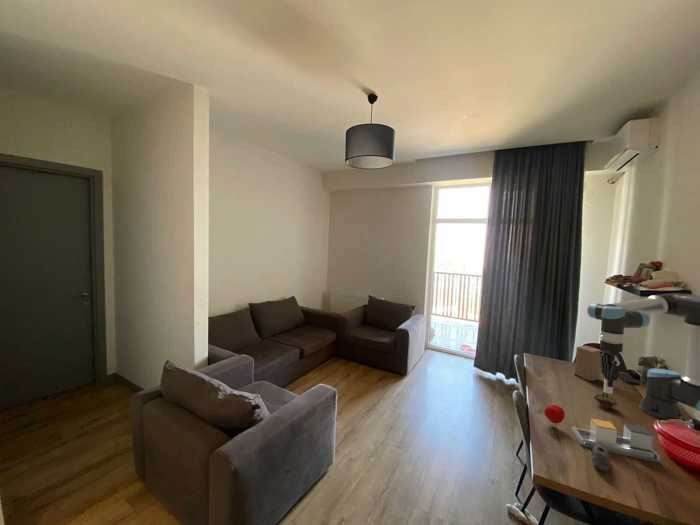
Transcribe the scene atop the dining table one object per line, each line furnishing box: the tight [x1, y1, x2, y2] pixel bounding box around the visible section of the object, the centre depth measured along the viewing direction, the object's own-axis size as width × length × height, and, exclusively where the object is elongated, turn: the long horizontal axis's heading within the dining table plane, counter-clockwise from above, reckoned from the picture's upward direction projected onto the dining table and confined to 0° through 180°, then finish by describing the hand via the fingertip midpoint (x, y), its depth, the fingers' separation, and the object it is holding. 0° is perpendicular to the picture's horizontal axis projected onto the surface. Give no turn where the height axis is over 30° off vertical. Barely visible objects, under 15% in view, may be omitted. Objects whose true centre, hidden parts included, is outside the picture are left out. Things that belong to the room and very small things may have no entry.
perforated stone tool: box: [591, 442, 611, 473], centre depth 113 cm, size 15×5×7 cm, turn 138°
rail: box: [571, 423, 661, 464], centre depth 123 cm, size 26×10×10 cm, turn 70°
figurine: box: [593, 386, 619, 410], centre depth 154 cm, size 10×8×12 cm
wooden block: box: [574, 345, 603, 382], centre depth 190 cm, size 10×10×20 cm
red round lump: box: [543, 404, 566, 428], centre depth 135 cm, size 9×7×10 cm
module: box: [589, 418, 618, 445], centre depth 124 cm, size 7×6×8 cm
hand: (608, 392), depth 129 cm, fingers closed
